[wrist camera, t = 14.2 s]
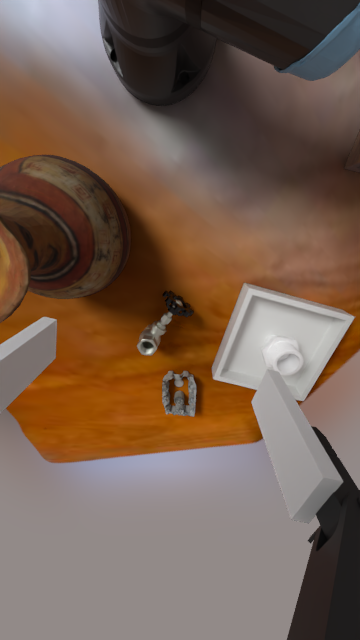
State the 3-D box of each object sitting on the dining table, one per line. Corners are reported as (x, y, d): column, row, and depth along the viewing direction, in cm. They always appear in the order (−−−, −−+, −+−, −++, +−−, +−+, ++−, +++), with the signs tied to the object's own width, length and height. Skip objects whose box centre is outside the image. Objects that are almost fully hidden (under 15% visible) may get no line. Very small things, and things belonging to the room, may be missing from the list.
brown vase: (124, 299, 46) (24, 412, 18) (22, 265, 44) (-259, 334, 16) (151, 193, 39) (52, 114, 11) (30, 148, 37) (-451, -83, 9)
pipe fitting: (296, 338, 47) (316, 359, 39) (270, 361, 49) (284, 385, 42) (275, 320, 45) (292, 338, 38) (248, 344, 48) (260, 366, 40)
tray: (244, 282, 44) (249, 287, 40) (341, 309, 45) (354, 316, 41) (211, 368, 51) (213, 379, 48) (295, 388, 52) (303, 401, 49)
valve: (159, 347, 50) (193, 306, 46) (155, 364, 44) (194, 318, 40) (133, 330, 49) (167, 286, 45) (125, 345, 42) (163, 295, 39)
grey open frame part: (163, 368, 52) (161, 379, 48) (196, 369, 52) (197, 381, 48) (163, 405, 56) (161, 418, 52) (194, 406, 56) (195, 419, 52)
